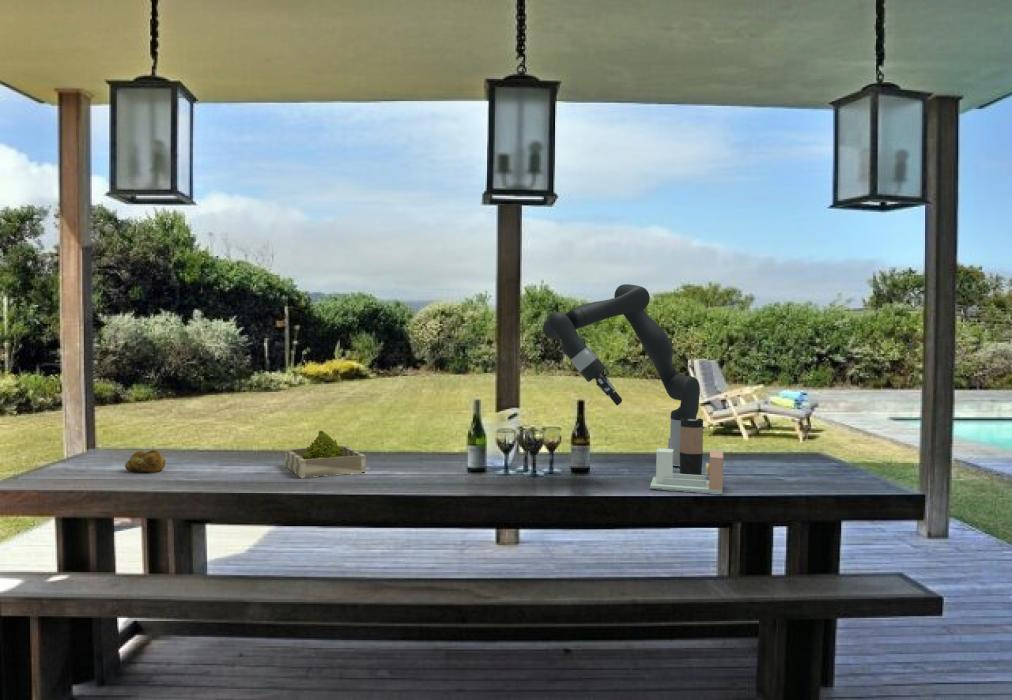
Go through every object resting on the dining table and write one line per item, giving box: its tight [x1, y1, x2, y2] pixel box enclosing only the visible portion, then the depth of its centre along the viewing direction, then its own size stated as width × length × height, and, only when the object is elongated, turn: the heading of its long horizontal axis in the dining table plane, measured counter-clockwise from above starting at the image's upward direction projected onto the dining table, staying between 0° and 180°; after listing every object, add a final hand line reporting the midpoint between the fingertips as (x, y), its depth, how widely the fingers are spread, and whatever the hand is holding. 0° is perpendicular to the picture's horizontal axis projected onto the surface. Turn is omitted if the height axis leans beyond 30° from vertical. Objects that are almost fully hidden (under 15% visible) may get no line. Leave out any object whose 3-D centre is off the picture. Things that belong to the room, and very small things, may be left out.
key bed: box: [649, 449, 724, 494], centre depth 253 cm, size 22×14×12 cm, turn 75°
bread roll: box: [124, 449, 166, 474], centre depth 269 cm, size 13×10×8 cm
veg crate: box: [284, 445, 367, 479], centre depth 275 cm, size 23×22×6 cm
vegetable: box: [302, 430, 344, 460], centre depth 274 cm, size 15×16×15 cm
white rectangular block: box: [655, 447, 674, 483], centre depth 254 cm, size 5×6×10 cm
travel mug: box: [679, 418, 704, 475], centre depth 269 cm, size 8×8×20 cm
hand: (620, 402), depth 256 cm, fingers open, 8 cm apart
